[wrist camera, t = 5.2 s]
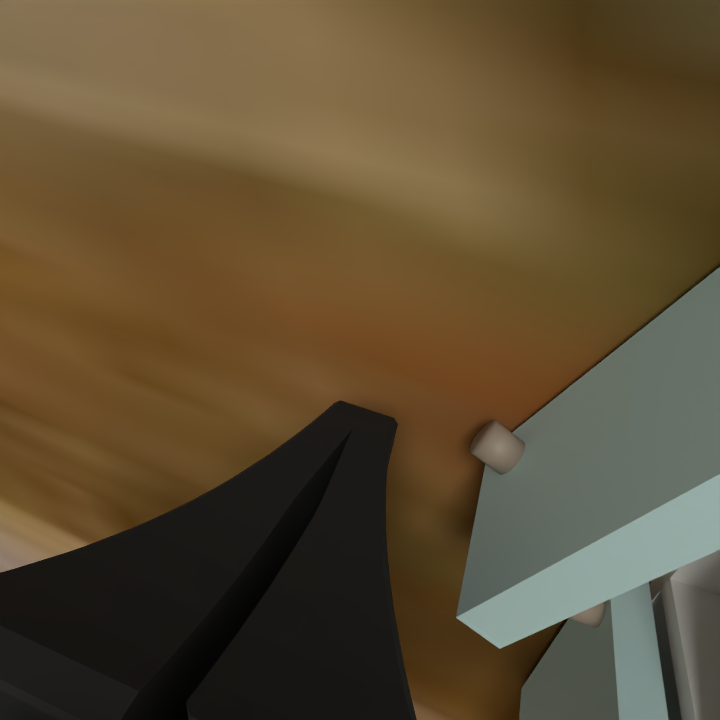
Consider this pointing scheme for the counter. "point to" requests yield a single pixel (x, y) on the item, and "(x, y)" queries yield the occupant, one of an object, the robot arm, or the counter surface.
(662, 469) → the door
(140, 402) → the counter surface
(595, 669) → the cabinet
